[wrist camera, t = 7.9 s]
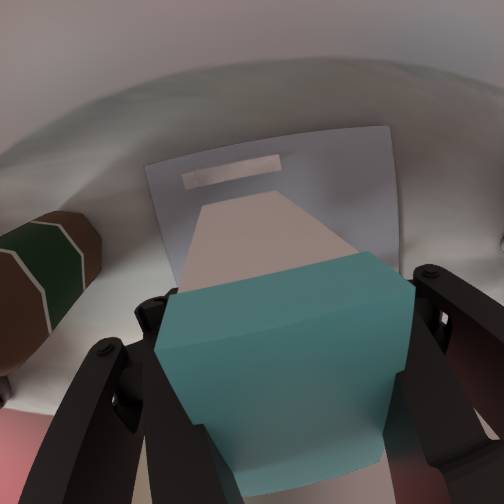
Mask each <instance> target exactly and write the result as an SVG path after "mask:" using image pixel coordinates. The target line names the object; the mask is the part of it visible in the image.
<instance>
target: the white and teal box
mask: <svg viewBox="0 0 504 504" xmlns="http://www.w3.org/2000/svg"><path fill="white" fill-rule="evenodd" d="M415 289H416V287H415V286H414V285H412V284H411V283H410V282H409V281H407V280H406V279H405V278H403V277H402V276H401V275H400V274H398V273H397V272H396V271H394V270H393V269H392V268H391V267H389V266H388V265H387V264H385V263H384V262H383V261H381V260H380V259H379V258H377V257H376V256H375V255H373V254H372V253H371V252H369V251H364V252H359V251H357V250H356V249H355V248H353V247H352V246H351V245H350V244H348V243H347V242H346V241H344V240H343V239H342V238H340V237H339V236H338V235H337V234H335V233H334V232H333V231H331V230H330V229H329V228H327V227H326V226H325V225H323V224H322V223H321V222H319V221H318V220H317V219H315V218H314V217H312V216H311V215H310V214H308V213H307V212H306V211H304V210H303V209H302V208H300V207H299V206H297V205H296V204H295V203H293V202H292V201H290V200H289V199H288V198H286V197H285V196H283V195H282V194H280V193H279V192H278V191H276V190H274V191H269V192H264V193H259V194H254V195H249V196H245V197H240V198H235V199H230V200H226V201H221V202H217V203H212V204H208V205H204V206H202V209H201V212H200V215H199V218H198V222H197V225H196V228H195V232H194V235H193V238H192V242H191V245H190V249H189V252H188V256H187V259H186V263H185V266H184V270H183V274H182V277H181V281H180V285H179V288H178V292H177V294H173V295H170V296H169V299H168V303H167V306H166V309H165V313H164V316H163V320H162V323H161V327H160V330H159V334H158V337H157V341H156V345H155V348H154V352H155V354H156V356H157V358H158V360H159V362H160V364H161V366H162V368H163V370H164V372H165V374H166V376H167V378H168V380H169V382H170V384H171V386H172V388H173V390H174V391H175V393H176V395H177V397H178V399H179V401H180V403H181V404H182V406H183V408H184V410H185V411H186V413H187V415H188V417H189V418H190V420H191V422H192V424H193V425H195V424H204V426H205V428H206V430H207V431H208V433H209V435H210V437H211V438H212V440H213V442H214V443H215V445H216V447H217V449H218V450H219V452H220V454H221V455H222V457H223V458H224V460H225V462H226V463H227V465H228V466H229V468H230V470H231V471H232V473H233V475H234V477H235V480H236V483H237V485H238V488H239V491H240V493H241V496H242V497H247V496H255V495H262V494H268V493H273V492H278V491H283V490H288V489H293V488H297V487H302V486H306V485H310V484H313V483H317V482H321V481H324V480H328V479H331V478H335V477H338V476H341V475H344V474H347V473H350V472H353V471H356V470H359V469H361V468H364V467H367V466H369V465H372V464H375V463H377V462H379V461H380V458H381V455H382V452H383V449H384V446H385V445H384V441H383V436H382V433H383V430H384V426H385V422H386V418H387V414H388V410H389V405H390V401H391V396H392V391H393V386H394V381H395V376H396V373H398V372H400V371H403V370H404V369H405V364H406V359H407V353H408V347H409V341H410V334H411V327H412V319H413V310H414V301H415Z"/></svg>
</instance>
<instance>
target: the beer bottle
mask: <svg viewBox="0 0 504 504" xmlns="http://www.w3.org/2000/svg"><path fill="white" fill-rule="evenodd" d="M100 270H101V237H100V236H99V235H98V233H97V232H96V231H95V230H94V228H93V227H92V226H91V225H90V223H89V222H88V221H87V219H86V218H85V217H84V215H83V214H81V213H71V212H62V211H54V212H51V213H48V214H45V215H43V216H41V217H39V218H37V219H35V220H32V221H30V222H28V223H26V224H24V225H22V226H20V227H18V228H16V229H14V230H12V231H10V232H9V233H7V234H5V235H3V236H1V237H0V376H5V375H7V374H9V373H11V372H13V371H15V370H16V369H18V368H20V367H21V366H22V365H23V364H24V363H25V362H26V361H27V359H28V358H29V357H30V356H31V355H32V354H33V353H34V352H35V351H36V350H37V349H38V348H39V347H40V346H41V345H42V343H43V342H44V341H45V340H46V339H47V338H48V337H49V336H50V334H51V333H52V332H53V330H54V329H55V328H56V326H57V325H58V324H59V322H60V321H61V320H62V318H63V317H64V316H65V314H66V313H67V312H68V311H69V309H70V308H71V307H72V306H73V304H74V303H75V302H76V301H77V299H78V298H79V297H80V296H81V294H82V293H83V292H84V291H85V290H86V288H87V287H88V286H89V285H90V284H91V282H92V281H93V280H94V279H95V278H96V276H97V275H98V273H99V272H100Z"/></svg>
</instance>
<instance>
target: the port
mask: <svg viewBox="0 0 504 504" xmlns="http://www.w3.org/2000/svg"><path fill="white" fill-rule="evenodd" d="M279 170H282V169H281V164H280V158H279V154H262V155H256V156H251V157H246V158H241V159H236V160H231V161H226V162H221V163H217V164H212V165H208V166H203V167H199V168H195V169H191V170H188V171H187V172H185V173H183V174H182V179H183V183H184V187H185V190H189V189H193V188H197V187H201V186H206V185H210V184H215V183H219V182H224V181H228V180H233V179H238V178H243V177H248V176H253V175H258V174H263V173H268V172H274V171H279Z"/></svg>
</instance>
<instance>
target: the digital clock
mask: <svg viewBox="0 0 504 504" xmlns="http://www.w3.org/2000/svg"><path fill="white" fill-rule="evenodd" d="M501 250H502V251H503V252H504V238H503V240H502V242H501Z"/></svg>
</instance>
